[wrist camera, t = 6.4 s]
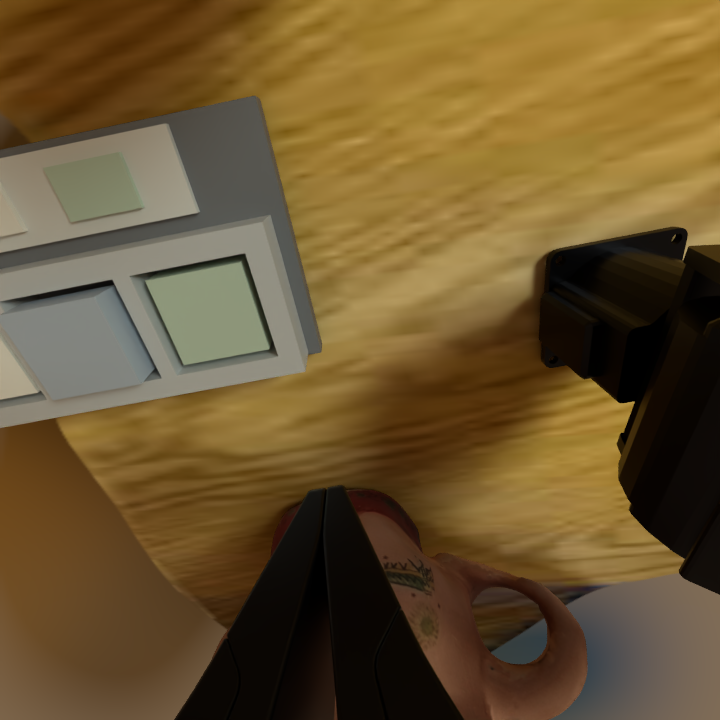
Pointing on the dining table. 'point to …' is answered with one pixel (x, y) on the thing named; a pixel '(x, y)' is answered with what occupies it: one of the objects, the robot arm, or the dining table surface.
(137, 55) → the dining table surface
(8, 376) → the ivory key
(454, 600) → the decorative planter
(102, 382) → the slate key
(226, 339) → the sage key
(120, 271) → the keypad
